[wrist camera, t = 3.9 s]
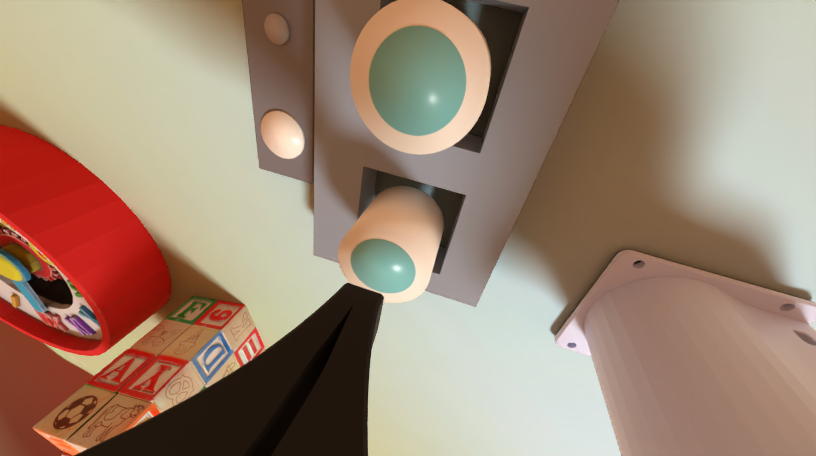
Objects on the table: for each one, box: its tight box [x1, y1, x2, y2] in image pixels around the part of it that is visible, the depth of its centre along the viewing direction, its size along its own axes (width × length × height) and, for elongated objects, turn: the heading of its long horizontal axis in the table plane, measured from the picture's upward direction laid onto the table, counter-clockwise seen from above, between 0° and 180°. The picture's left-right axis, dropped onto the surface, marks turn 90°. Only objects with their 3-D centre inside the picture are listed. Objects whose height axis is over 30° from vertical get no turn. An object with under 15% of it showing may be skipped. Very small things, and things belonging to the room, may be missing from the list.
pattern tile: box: [242, 0, 315, 184], centre depth 14 cm, size 4×15×1 cm, turn 169°
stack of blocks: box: [33, 296, 265, 456], centre depth 28 cm, size 21×6×12 cm, turn 3°
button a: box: [338, 186, 444, 303], centre depth 14 cm, size 4×4×4 cm
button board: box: [314, 0, 619, 307], centre depth 12 cm, size 10×22×2 cm, turn 169°
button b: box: [350, 0, 491, 155], centre depth 10 cm, size 4×4×4 cm
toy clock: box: [0, 125, 171, 356], centre depth 26 cm, size 20×6×20 cm
